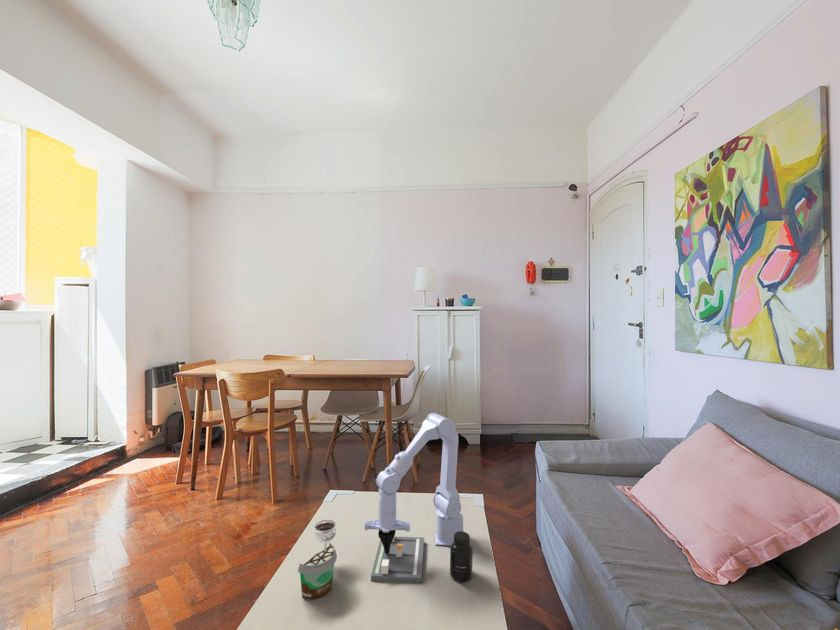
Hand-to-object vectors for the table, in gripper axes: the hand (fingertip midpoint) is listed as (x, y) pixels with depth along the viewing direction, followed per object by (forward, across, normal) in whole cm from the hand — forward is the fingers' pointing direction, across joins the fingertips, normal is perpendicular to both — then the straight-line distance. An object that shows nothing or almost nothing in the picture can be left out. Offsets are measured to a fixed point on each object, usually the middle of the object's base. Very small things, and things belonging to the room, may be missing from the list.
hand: (387, 551), depth 120 cm
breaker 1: (+1, +1, -8) cm, 8 cm away
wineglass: (+3, -20, -3) cm, 20 cm away
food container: (+3, -16, -15) cm, 22 cm away
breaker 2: (+1, +1, +8) cm, 8 cm away
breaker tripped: (+1, +4, 0) cm, 4 cm away
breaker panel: (+2, +4, 0) cm, 5 cm away
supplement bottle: (+3, +24, -6) cm, 24 cm away
